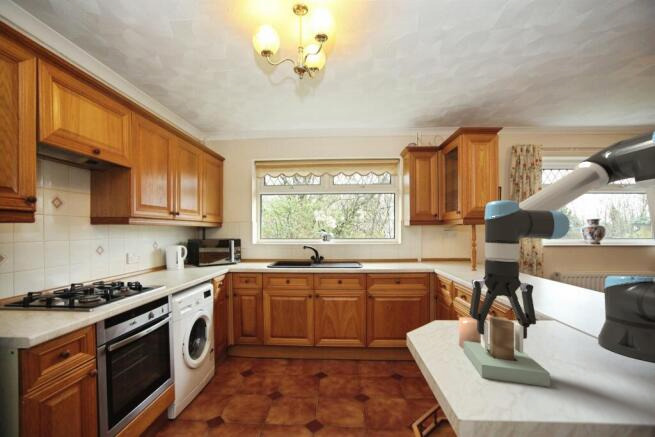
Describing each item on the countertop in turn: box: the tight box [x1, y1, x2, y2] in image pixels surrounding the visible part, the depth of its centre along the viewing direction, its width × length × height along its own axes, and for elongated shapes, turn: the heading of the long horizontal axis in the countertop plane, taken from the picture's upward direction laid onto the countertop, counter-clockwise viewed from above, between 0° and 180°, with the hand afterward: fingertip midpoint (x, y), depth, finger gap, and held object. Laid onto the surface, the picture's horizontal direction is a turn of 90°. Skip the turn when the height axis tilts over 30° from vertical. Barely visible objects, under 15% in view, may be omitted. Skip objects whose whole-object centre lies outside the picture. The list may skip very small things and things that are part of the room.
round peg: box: [458, 316, 481, 350], centre depth 79 cm, size 6×6×8 cm
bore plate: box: [463, 341, 551, 388], centre depth 67 cm, size 14×14×3 cm
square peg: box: [489, 316, 515, 361], centre depth 68 cm, size 4×4×12 cm
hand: (501, 348), depth 67 cm, fingers open, 7 cm apart
